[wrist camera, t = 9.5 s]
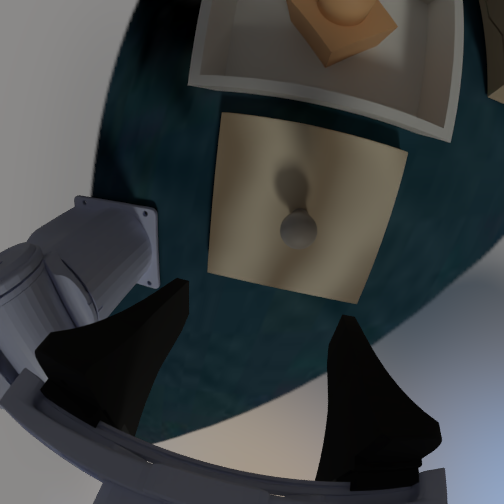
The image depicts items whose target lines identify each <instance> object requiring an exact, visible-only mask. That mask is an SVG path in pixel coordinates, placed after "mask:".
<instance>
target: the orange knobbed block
mask: <svg viewBox="0 0 504 504" xmlns="http://www.w3.org/2000/svg"><path fill="white" fill-rule="evenodd" d="M286 2H287V6H288V11H289V15H290V20H291V22H292V23H293V25H294V26H295V27H296V28H297V30H298V31H299V32H300V33H301V35H302V36H303V37H304V39H305V40H306V41H307V43H308V44H309V45H310V47H311V48H312V50H313V51H314V52H315V54H316V55H317V57H318V58H319V60H320V61H321V62H322V64H323V65H324V67H325V68H327V67H329V66H331V65H333V64H335V63H337V62H340V61H342V60H344V59H346V58H349V57H351V56H353V55H356V54H358V53H361V52H363V51H365V50H368V49H371V48H373V47H376V46H377V45H378V44H380V43H381V42H382V41H383V40H384V39H385V38H386V37H387V36H388V35H389V34H391V33H392V32H393V31H394V30H395V29H396V28H397V27H398V26H397V24H396V23H395V22H394V20H393V19H392V17H391V16H390V15H389V13H388V12H387V11H386V9H385V8H384V7H383V5H382V4H381V3H380V1H379V0H286Z"/></svg>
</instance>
